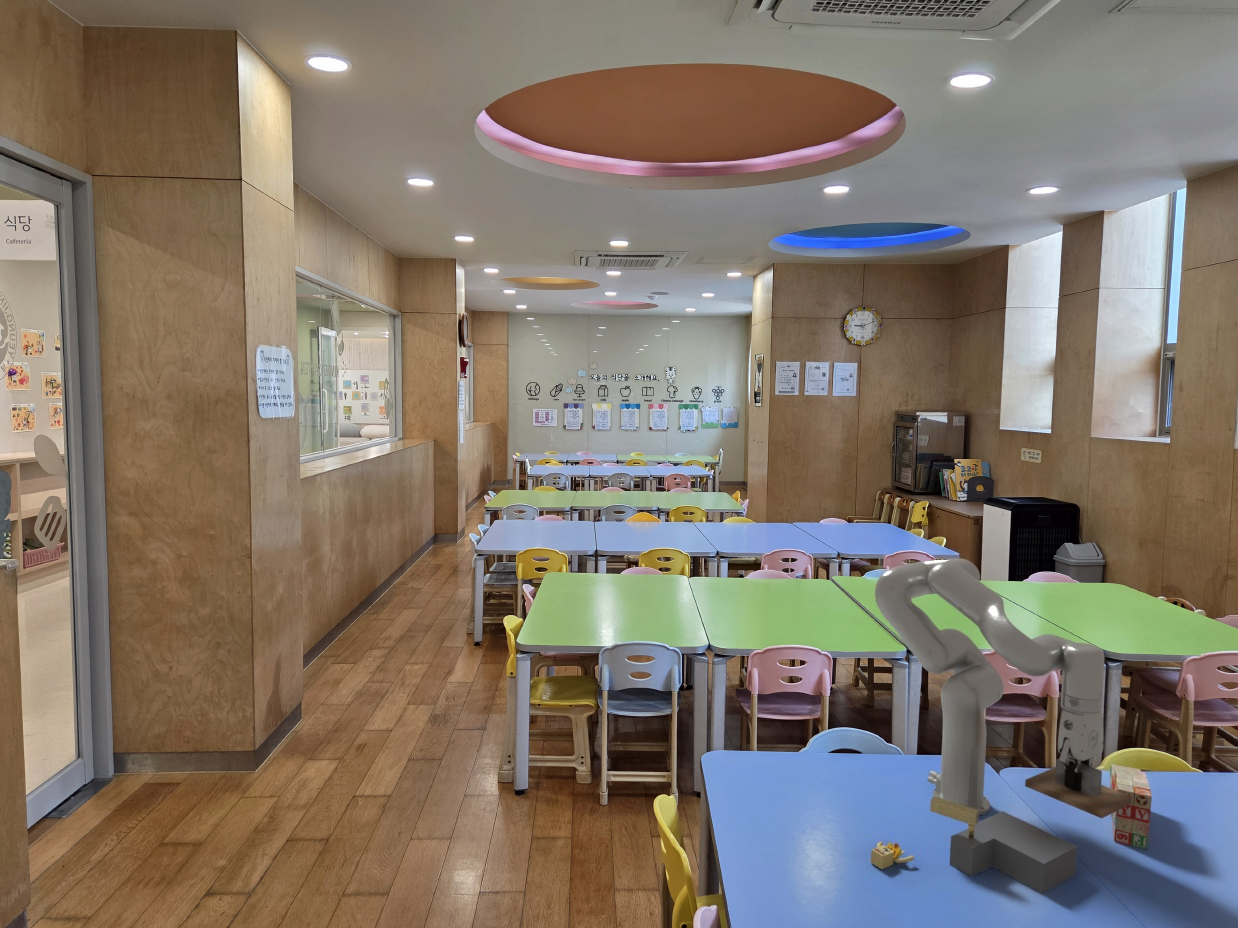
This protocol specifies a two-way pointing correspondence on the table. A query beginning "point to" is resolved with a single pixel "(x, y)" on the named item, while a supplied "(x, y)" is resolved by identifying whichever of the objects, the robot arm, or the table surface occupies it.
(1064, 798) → the walnut lid
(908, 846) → the table surface
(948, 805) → the brass bar
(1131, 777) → the stack of blocks
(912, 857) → the character toy
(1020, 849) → the grey l-shaped block
